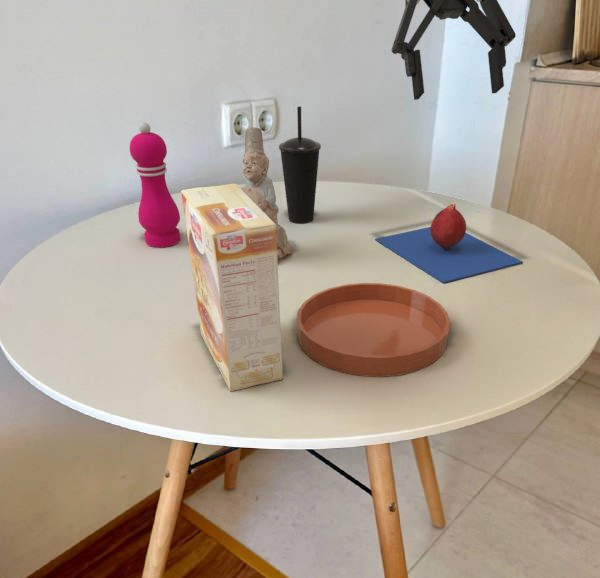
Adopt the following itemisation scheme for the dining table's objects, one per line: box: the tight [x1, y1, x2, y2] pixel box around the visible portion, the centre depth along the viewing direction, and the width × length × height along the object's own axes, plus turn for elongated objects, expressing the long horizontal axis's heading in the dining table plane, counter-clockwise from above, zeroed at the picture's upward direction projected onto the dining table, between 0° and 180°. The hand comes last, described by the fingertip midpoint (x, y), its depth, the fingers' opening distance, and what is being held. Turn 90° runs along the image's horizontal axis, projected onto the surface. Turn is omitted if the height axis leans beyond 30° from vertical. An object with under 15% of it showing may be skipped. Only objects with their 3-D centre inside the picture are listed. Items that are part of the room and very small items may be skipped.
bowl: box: [296, 282, 451, 377], centre depth 79 cm, size 20×20×3 cm
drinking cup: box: [278, 106, 322, 224], centre depth 109 cm, size 8×8×20 cm
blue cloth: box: [374, 226, 524, 284], centre depth 102 cm, size 20×16×1 cm
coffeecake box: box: [180, 183, 284, 392], centre depth 70 cm, size 15×7×20 cm, turn 21°
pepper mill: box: [129, 122, 181, 248], centre depth 102 cm, size 7×7×20 cm
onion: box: [429, 202, 467, 250], centre depth 99 cm, size 6×6×8 cm
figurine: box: [240, 127, 293, 260], centre depth 96 cm, size 9×8×20 cm
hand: (458, 93), depth 96 cm, fingers open, 13 cm apart
